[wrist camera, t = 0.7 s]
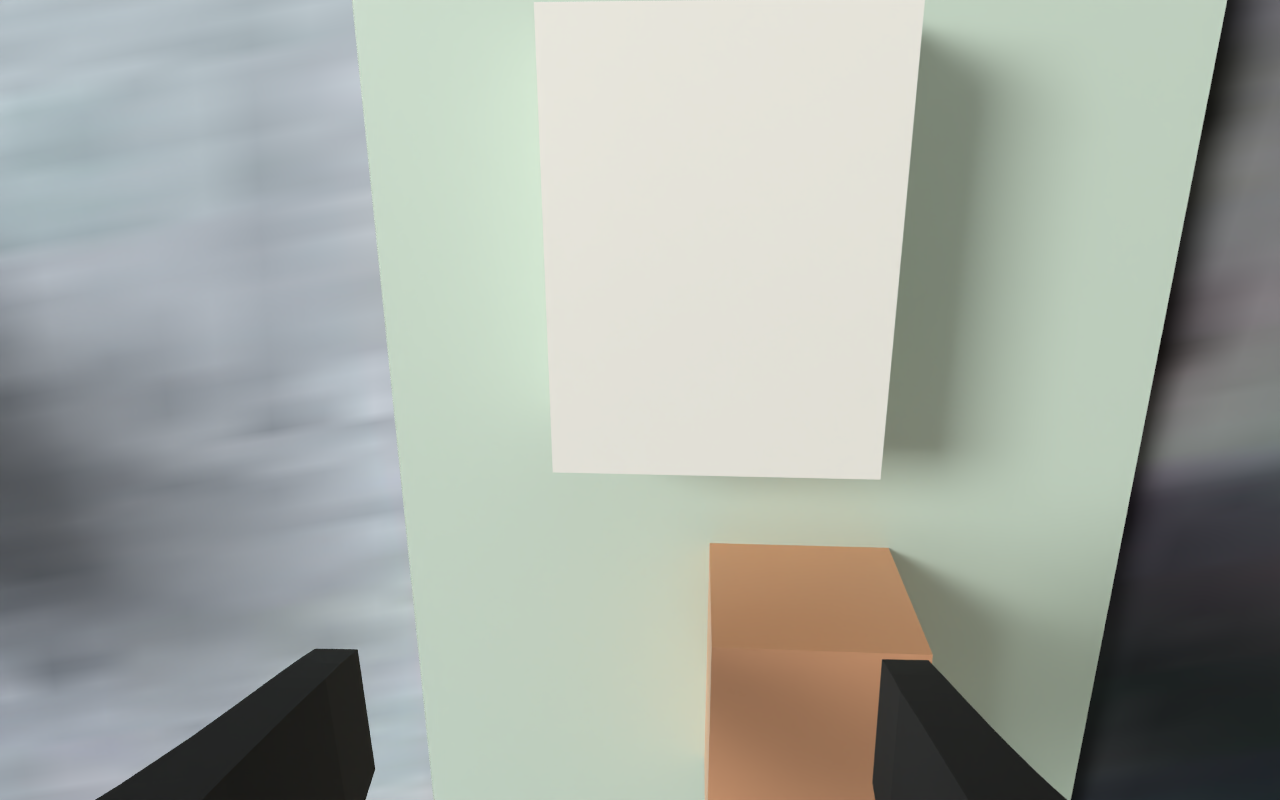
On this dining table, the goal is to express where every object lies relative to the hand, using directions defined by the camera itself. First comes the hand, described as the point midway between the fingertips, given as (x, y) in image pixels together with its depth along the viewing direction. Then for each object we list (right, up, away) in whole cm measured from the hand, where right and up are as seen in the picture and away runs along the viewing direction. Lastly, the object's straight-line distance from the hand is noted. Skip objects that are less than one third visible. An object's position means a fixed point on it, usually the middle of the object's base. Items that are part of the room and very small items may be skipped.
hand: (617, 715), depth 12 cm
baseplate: (+3, +3, +8) cm, 9 cm away
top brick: (+4, -2, +9) cm, 10 cm away
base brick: (+2, +8, +6) cm, 10 cm away
